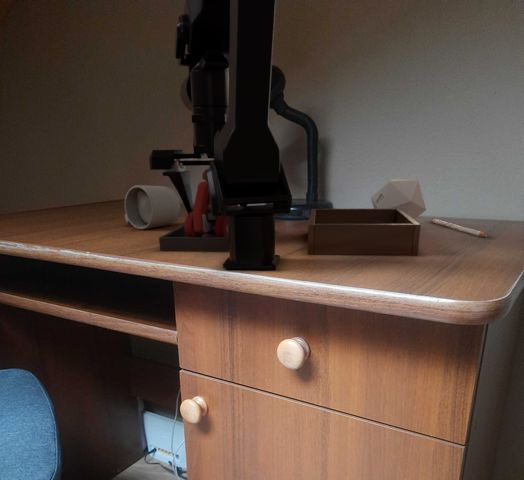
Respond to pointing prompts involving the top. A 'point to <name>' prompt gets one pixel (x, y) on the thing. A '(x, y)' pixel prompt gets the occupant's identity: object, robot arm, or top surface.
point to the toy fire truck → (205, 215)
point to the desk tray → (192, 242)
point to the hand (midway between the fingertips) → (217, 217)
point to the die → (400, 197)
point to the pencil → (459, 227)
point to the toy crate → (362, 232)
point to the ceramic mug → (151, 206)
